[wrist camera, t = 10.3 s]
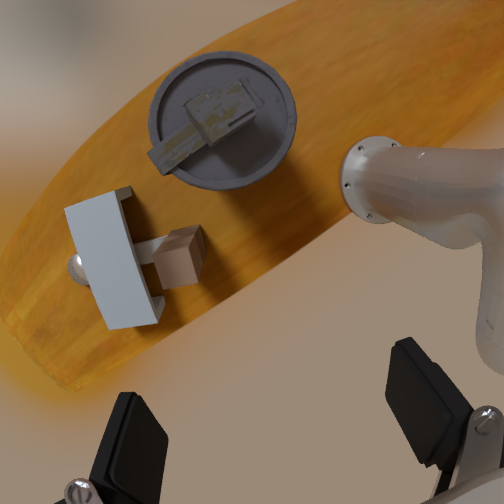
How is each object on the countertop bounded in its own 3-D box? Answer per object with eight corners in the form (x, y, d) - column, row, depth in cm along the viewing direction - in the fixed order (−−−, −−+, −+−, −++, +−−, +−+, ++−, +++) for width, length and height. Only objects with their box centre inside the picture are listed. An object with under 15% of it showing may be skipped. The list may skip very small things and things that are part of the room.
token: (87, 244, 37) (82, 249, 36) (104, 272, 39) (99, 277, 37) (68, 258, 38) (62, 263, 36) (84, 285, 40) (79, 290, 38)
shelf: (130, 185, 35) (114, 190, 30) (166, 303, 41) (157, 323, 36) (83, 201, 35) (64, 208, 30) (121, 311, 41) (109, 329, 36)
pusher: (199, 224, 38) (188, 247, 28) (206, 252, 39) (198, 282, 29) (96, 249, 38) (62, 276, 28) (104, 274, 39) (75, 305, 30)
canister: (239, 83, 32) (244, 11, 13) (283, 147, 35) (337, 137, 16) (169, 130, 33) (102, 105, 14) (214, 193, 36) (191, 232, 17)
